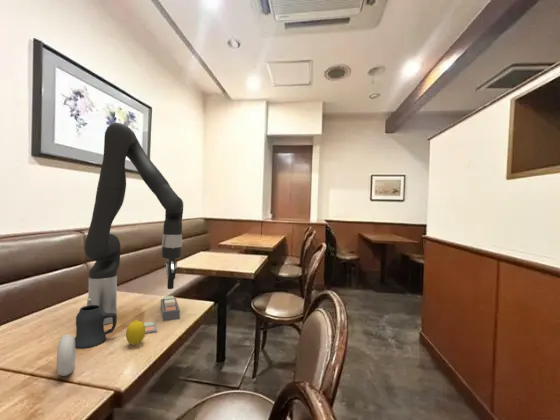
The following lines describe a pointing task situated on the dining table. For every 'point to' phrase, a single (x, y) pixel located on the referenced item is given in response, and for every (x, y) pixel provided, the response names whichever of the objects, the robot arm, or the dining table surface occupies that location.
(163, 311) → the keypad
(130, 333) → the lemon
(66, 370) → the donut
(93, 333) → the mug
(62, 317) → the dining table surface
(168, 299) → the key sage
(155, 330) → the tile
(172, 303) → the key cream
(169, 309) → the key terracotta
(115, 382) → the dining table surface
